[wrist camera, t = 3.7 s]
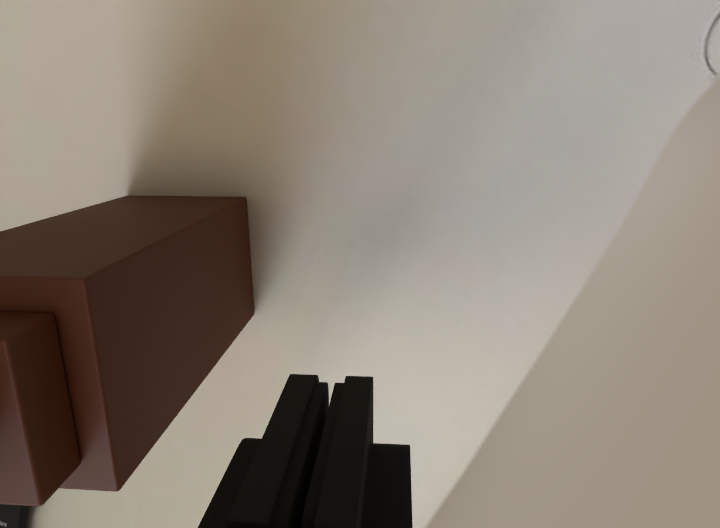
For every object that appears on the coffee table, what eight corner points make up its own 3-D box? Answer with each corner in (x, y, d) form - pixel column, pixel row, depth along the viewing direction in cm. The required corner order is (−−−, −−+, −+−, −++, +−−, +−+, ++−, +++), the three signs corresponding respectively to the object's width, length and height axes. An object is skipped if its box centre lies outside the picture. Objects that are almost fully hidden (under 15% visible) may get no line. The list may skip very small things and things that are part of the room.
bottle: (246, 196, 23) (-319, 480, 5) (254, 314, 24) (-156, 853, 6) (125, 195, 23) (-789, 453, 5) (141, 311, 25) (-532, 806, 7)
